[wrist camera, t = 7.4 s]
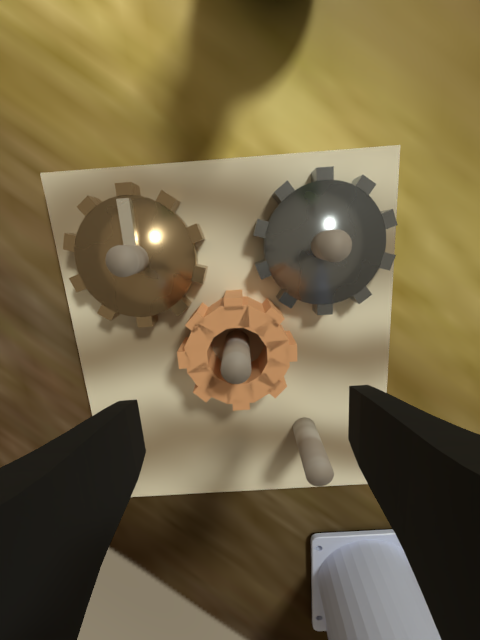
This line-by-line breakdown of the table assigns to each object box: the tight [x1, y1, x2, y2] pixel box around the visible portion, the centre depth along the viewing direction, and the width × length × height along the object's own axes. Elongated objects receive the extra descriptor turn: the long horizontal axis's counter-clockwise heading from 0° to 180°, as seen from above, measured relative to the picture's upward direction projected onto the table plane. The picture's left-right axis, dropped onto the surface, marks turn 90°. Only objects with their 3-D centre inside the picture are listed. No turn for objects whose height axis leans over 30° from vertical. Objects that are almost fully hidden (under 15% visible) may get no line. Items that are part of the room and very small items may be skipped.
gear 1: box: [63, 182, 208, 327], centre depth 16 cm, size 7×7×2 cm
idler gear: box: [177, 289, 297, 411], centre depth 17 cm, size 6×6×2 cm
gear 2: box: [253, 166, 397, 315], centre depth 16 cm, size 7×7×1 cm
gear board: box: [40, 145, 400, 497], centre depth 17 cm, size 20×18×5 cm
